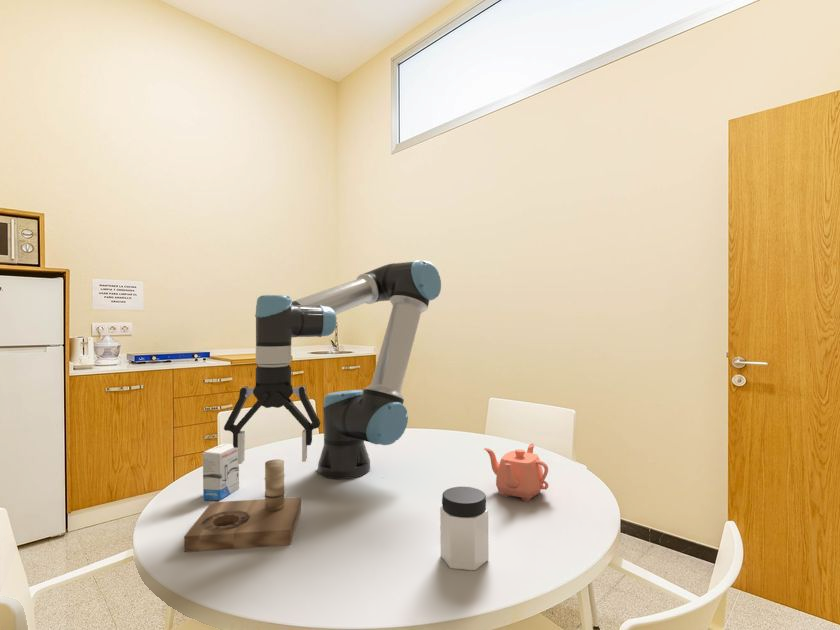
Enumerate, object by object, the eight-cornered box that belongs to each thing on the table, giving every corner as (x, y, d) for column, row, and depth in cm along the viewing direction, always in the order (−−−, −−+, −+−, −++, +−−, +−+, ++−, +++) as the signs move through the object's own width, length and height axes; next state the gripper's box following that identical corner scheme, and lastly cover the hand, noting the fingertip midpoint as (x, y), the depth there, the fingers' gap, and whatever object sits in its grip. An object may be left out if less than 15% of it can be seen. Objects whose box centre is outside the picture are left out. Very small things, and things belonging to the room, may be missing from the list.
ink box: (219, 501, 111) (219, 453, 111) (202, 499, 112) (201, 452, 112) (240, 488, 120) (240, 443, 120) (223, 486, 121) (223, 442, 121)
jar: (460, 541, 91) (459, 482, 91) (495, 555, 86) (495, 492, 86) (432, 560, 84) (431, 496, 84) (468, 577, 79) (468, 508, 79)
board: (301, 509, 106) (301, 497, 106) (290, 544, 90) (290, 529, 90) (211, 515, 104) (211, 502, 104) (184, 551, 88) (184, 536, 88)
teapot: (506, 508, 106) (505, 461, 106) (483, 486, 120) (483, 444, 120) (561, 501, 110) (561, 456, 110) (533, 480, 124) (533, 440, 124)
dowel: (285, 503, 103) (285, 458, 103) (282, 510, 99) (282, 464, 99) (267, 504, 102) (266, 459, 102) (263, 511, 98) (263, 465, 98)
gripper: (331, 362, 106) (331, 453, 106) (219, 363, 103) (219, 457, 102) (329, 366, 98) (329, 464, 98) (208, 367, 95) (208, 468, 95)
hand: (273, 461), depth 100 cm, fingers open, 13 cm apart
